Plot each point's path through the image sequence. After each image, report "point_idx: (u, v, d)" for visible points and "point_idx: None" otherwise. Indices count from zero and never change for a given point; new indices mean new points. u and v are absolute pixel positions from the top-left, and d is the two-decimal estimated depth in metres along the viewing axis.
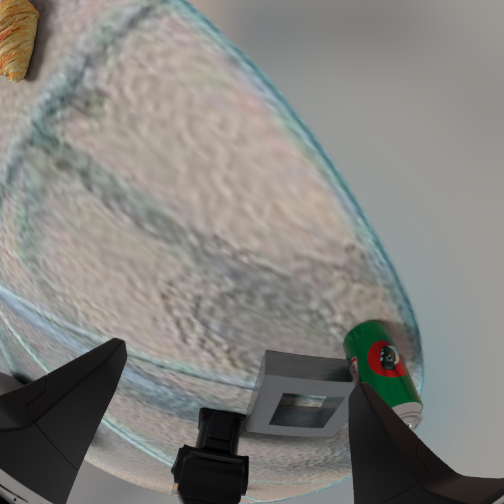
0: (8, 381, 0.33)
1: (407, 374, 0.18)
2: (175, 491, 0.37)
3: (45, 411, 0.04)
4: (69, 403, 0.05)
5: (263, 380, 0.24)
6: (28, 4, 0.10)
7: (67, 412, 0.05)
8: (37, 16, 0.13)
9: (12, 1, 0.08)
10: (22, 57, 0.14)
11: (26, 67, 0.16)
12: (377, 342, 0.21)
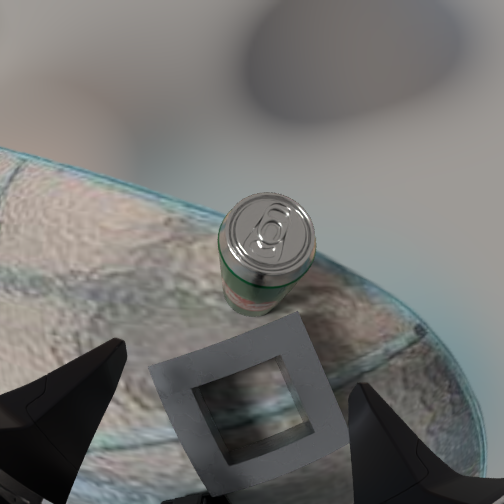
0: None
1: None
2: None
3: (45, 411, 0.04)
4: (69, 403, 0.05)
5: (153, 378, 0.17)
6: None
7: (67, 412, 0.05)
8: None
9: None
10: None
11: None
12: None
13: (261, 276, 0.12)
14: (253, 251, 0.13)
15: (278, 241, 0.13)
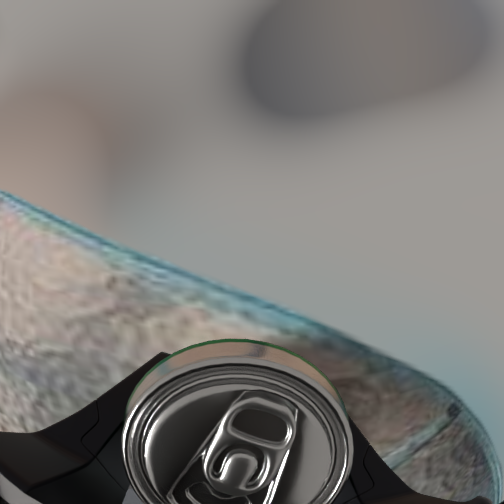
0: None
1: None
2: None
3: (105, 442, 0.04)
4: None
5: None
6: None
7: None
8: None
9: None
10: None
11: None
12: None
13: None
14: (195, 501, 0.03)
15: (259, 487, 0.03)
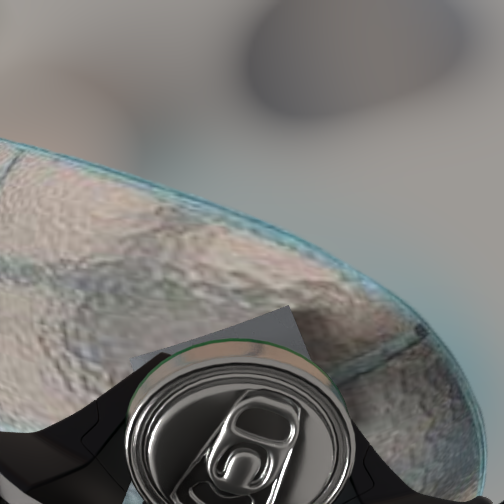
0: None
1: None
2: None
3: (105, 442, 0.04)
4: None
5: None
6: None
7: (124, 438, 0.05)
8: None
9: None
10: None
11: None
12: None
13: None
14: (199, 500, 0.03)
15: (262, 486, 0.03)
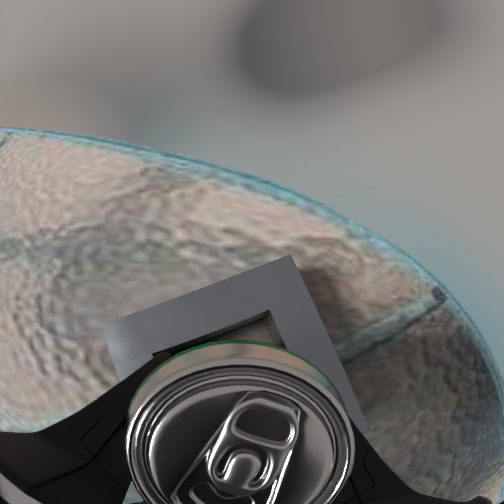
0: None
1: None
2: None
3: (105, 442, 0.04)
4: None
5: (108, 340, 0.13)
6: None
7: (124, 438, 0.05)
8: None
9: None
10: None
11: None
12: None
13: None
14: (200, 501, 0.03)
15: (262, 487, 0.03)
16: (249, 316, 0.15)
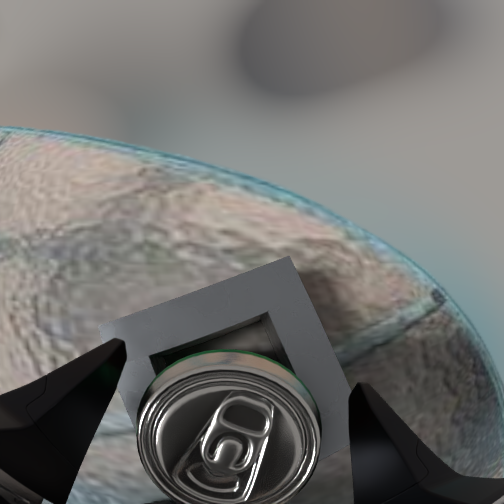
0: None
1: None
2: None
3: (45, 411, 0.04)
4: (69, 403, 0.05)
5: (104, 342, 0.13)
6: None
7: (67, 412, 0.05)
8: None
9: None
10: None
11: None
12: None
13: None
14: (195, 480, 0.05)
15: (245, 468, 0.05)
16: (247, 318, 0.14)
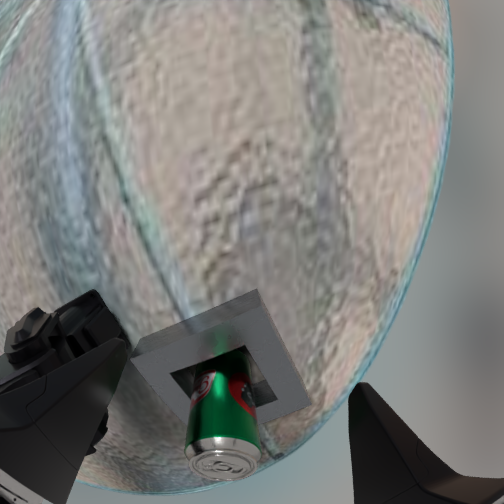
0: None
1: (257, 422, 0.17)
2: None
3: (45, 411, 0.04)
4: (69, 403, 0.05)
5: (249, 312, 0.19)
6: None
7: (67, 412, 0.05)
8: None
9: None
10: None
11: None
12: (244, 374, 0.20)
13: (189, 459, 0.13)
14: (205, 459, 0.13)
15: (215, 469, 0.13)
16: (274, 391, 0.21)
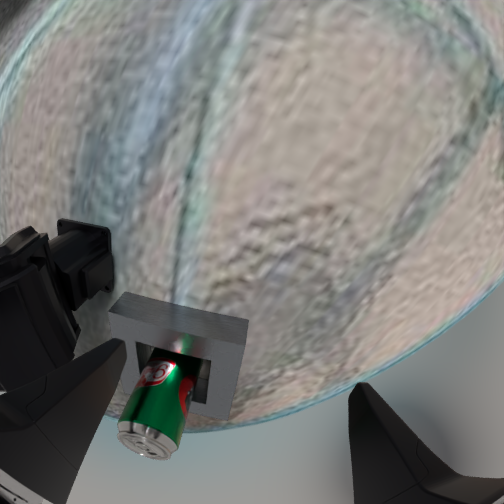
0: None
1: (184, 422, 0.19)
2: None
3: (45, 411, 0.04)
4: (69, 403, 0.05)
5: (232, 344, 0.21)
6: None
7: (67, 412, 0.05)
8: None
9: None
10: None
11: None
12: (195, 377, 0.22)
13: (120, 429, 0.15)
14: (134, 436, 0.15)
15: (136, 445, 0.15)
16: (207, 398, 0.24)
